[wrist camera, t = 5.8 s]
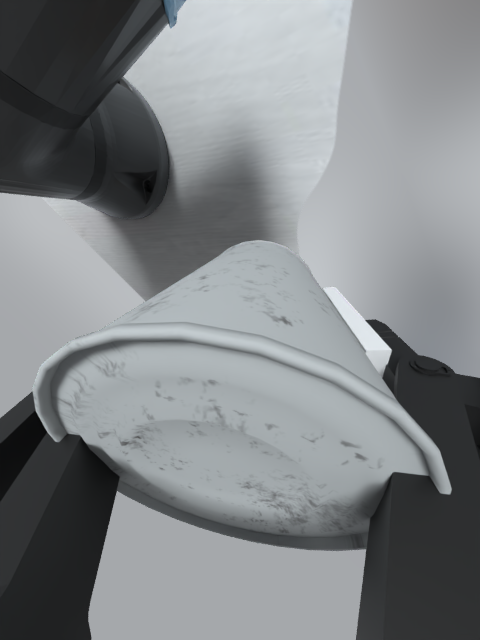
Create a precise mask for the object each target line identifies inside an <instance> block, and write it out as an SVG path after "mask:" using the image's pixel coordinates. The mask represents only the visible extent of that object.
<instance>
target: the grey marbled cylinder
mask: <svg viewBox="0 0 480 640" xmlns="http://www.w3.org/2000/svg"><path fill="white" fill-rule="evenodd" d="M32 391H33V397H34V403H35V409H36V412H37V414H38V416H39V418H40V420H41V422H42V423H43V425H44V427H45V429H46V431H47V432H48V434H49V435H50V436H51V437H52V438H53V439H54V441H55V442H60V441H61V440H62V439H63V438H64V437H65V436H66V435H67V434H75V435H80V436H81V437H82V438H83V440H84V441H85V443H86V444H87V446H88V447H89V448H90V450H91V451H93V452H94V453H95V454H96V455H97V456H98V457H99V458H100V459H101V460H102V461H103V462H104V463H105V464H106V465H107V466H108V467H109V468H110V469H111V470H112V471H113V472H115V473H116V474H117V475H119V476H120V479H119V483H118V487H117V491H118V492H120V493H122V494H123V495H125V496H127V497H129V498H131V499H133V500H135V501H137V502H139V503H141V504H143V505H145V506H147V507H149V508H151V509H154V510H156V511H158V512H161V513H163V514H165V515H168V516H170V517H172V518H175V519H177V520H180V521H183V522H186V523H188V524H191V525H194V526H197V527H199V528H203V529H206V530H209V531H213V532H216V533H220V534H223V535H227V536H230V537H235V538H239V539H243V540H247V541H251V542H256V543H262V544H268V545H273V546H279V547H287V548H297V549H306V550H326V551H343V550H360V549H367V541H368V532H369V524H370V518H371V517H372V516H373V515H374V513H375V511H376V509H377V507H378V505H379V503H380V501H381V499H382V497H383V495H384V493H385V490H386V488H387V485H388V483H389V480H390V478H391V475H392V473H393V472H401V473H409V474H418V475H426V476H430V478H431V479H432V481H433V483H434V484H435V486H436V487H437V489H438V491H439V492H440V493H442V494H450V493H451V490H452V489H451V485H450V482H449V478H448V475H447V472H446V469H445V466H444V463H443V460H442V456H441V453H440V450H439V449H438V447H437V446H436V445H435V443H434V442H433V440H432V439H431V438H430V437H429V436H428V435H427V434H426V433H425V431H424V430H423V429H422V428H421V427H420V426H419V425H418V424H417V423H416V421H415V420H414V419H413V418H412V417H411V416H410V415H409V414H408V413H407V412H406V410H405V409H404V408H403V407H402V406H401V405H400V404H399V402H398V401H397V400H396V398H395V397H394V395H393V394H392V392H391V391H390V389H389V388H388V386H387V385H386V383H385V382H384V380H383V379H382V377H381V376H380V374H379V373H378V371H377V370H376V368H375V367H374V366H373V364H372V363H371V361H370V360H369V358H368V357H367V355H366V354H365V352H364V351H363V349H362V348H361V346H360V345H359V343H358V342H357V340H356V339H355V337H354V336H353V334H352V333H351V332H350V330H349V329H348V327H347V326H346V324H345V323H344V321H343V320H342V318H341V317H340V315H339V314H338V312H337V311H336V309H335V308H334V306H333V305H332V303H331V302H330V300H329V299H328V298H327V296H326V295H325V293H324V292H323V290H322V289H321V287H320V286H319V284H318V283H317V281H316V280H315V278H314V277H313V275H312V274H311V271H310V269H309V267H308V266H307V264H306V263H305V262H304V261H303V260H302V259H301V257H300V256H299V255H298V254H296V253H295V252H293V251H292V250H290V249H289V248H288V247H286V246H283V245H280V244H278V243H275V242H271V241H262V240H255V241H247V242H242V243H240V244H237V245H235V246H232V247H230V248H229V249H227V250H226V251H224V252H223V253H222V254H220V255H219V256H218V257H216V258H215V259H213V260H212V261H210V262H208V263H207V264H205V265H204V266H202V267H200V268H199V269H197V270H195V271H194V272H192V273H191V274H189V275H187V276H186V277H184V278H183V279H181V280H179V281H178V282H176V283H175V284H173V285H171V286H170V287H168V288H167V289H165V290H163V291H162V292H160V293H159V294H157V295H155V296H154V297H152V298H151V299H149V300H147V301H146V302H144V303H143V304H141V305H139V306H138V307H136V308H134V309H133V310H131V311H130V312H128V313H126V314H125V315H123V316H122V317H120V318H118V319H117V320H115V321H114V322H112V323H111V324H109V325H107V326H106V327H104V328H102V329H101V330H99V331H97V332H93V333H90V334H87V335H83V336H80V337H77V338H75V339H73V340H72V341H70V342H68V343H67V344H66V345H64V346H63V347H62V348H61V349H60V350H58V351H57V352H56V353H55V354H53V355H52V356H51V357H50V358H48V359H47V360H46V361H45V362H44V363H43V364H42V365H41V366H40V369H39V371H38V374H37V377H36V380H35V383H34V385H33V388H32Z"/></svg>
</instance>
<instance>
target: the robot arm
mask: <svg viewBox="0 0 480 640" xmlns="http://www.w3.org/2000/svg"><path fill="white" fill-rule="evenodd" d="M185 1H186V0H0V193H9V194H20V195H29V196H39V197H49V198H60V199H70V200H76V201H79V202H81V203H83V204H85V205H87V206H90V207H92V208H94V209H96V210H98V211H101V212H103V213H105V214H107V215H110V216H113V217H117V218H125V219H137V218H142V217H145V216H147V215H149V214H151V213H152V212H153V211H154V210H155V209H156V208H157V207H158V206H159V204H160V203H161V201H162V199H163V197H164V195H165V192H166V188H167V184H168V176H169V161H168V152H167V147H166V143H165V139H164V135H163V132H162V130H161V127H160V125H159V122H158V120H157V118H156V116H155V114H154V112H153V110H152V109H151V107H150V106H149V104H148V103H147V101H146V100H145V99H144V97H143V96H142V95H141V94H140V93H139V91H138V90H137V89H136V88H135V87H134V86H132V85H131V84H130V83H129V82H128V81H127V80H126V79H125V78H124V77H123V76H124V75H125V74H126V72H127V71H128V70H129V69H130V68H131V66H132V65H133V64H134V63H135V62H136V61H137V59H138V58H139V57H140V56H141V55H142V54H143V52H144V51H145V50H146V49H147V48H148V46H149V45H150V44H151V43H152V42H153V41H154V39H155V38H156V37H157V36H158V35H159V34H160V32H161V31H162V30H163V29H164V28H165V26H166V25H167V24H168V23H169V26H170V29H171V28H172V27H173V26H174V25H175V24H176V21H177V12H178V11H179V9H180V8H181V7H182V5H183V4H184V2H185ZM322 290H323V292H324V293H325V295H326V296H327V298H328V299H329V300H330V302H331V303H332V305H333V306H334V308H335V309H336V311H337V312H338V314H339V315H340V317H341V318H342V320H343V321H344V323H345V324H346V326H347V327H348V329H349V330H350V332H351V333H352V334H353V336H354V337H355V339H356V340H357V342H358V343H359V345H360V346H361V348H362V349H363V351H364V352H365V354H366V355H367V357H368V358H369V360H370V361H371V363H372V364H373V366H374V367H375V368H376V370H377V371H378V373H379V374H380V376H381V377H382V379H383V380H384V382H385V383H386V385H387V386H388V388H389V389H390V391H391V392H392V394H393V395H394V397H395V398H396V400H397V401H398V402H399V404H400V405H401V406H402V407H403V408H404V409H405V410H406V412H407V413H408V414H409V415H410V416H411V417H412V418H413V419H414V420H415V421H416V423H417V424H418V425H419V426H420V427H421V428H422V429H423V430H424V431H425V433H426V434H427V435H428V436H429V437H430V438H431V439H432V440H433V442H434V443H435V445H436V446H437V447H438V449H439V450H440V453H441V456H442V460H443V463H444V466H445V469H446V472H447V475H448V478H449V482H450V485H451V489H452V490H451V493H450V494H442V493H440V492H439V491H438V489H437V487H436V486H435V484H434V483H433V481H432V479H431V478H430V476H426V475H418V474H409V473H401V472H393V473H392V475H391V478H390V480H389V483H388V485H387V488H386V490H385V493H384V495H383V497H382V499H381V501H380V503H379V505H378V507H377V509H376V511H375V513H374V515H373V516H372V517H371V518H370V524H369V532H368V541H367V549H366V558H365V567H364V575H363V584H362V592H361V602H360V609H359V618H358V627H357V635H356V640H480V378H476V377H471V376H465V375H460V374H455V372H454V371H453V370H452V369H451V368H450V367H448V366H447V365H446V364H444V363H442V362H440V361H438V360H436V359H433V358H429V357H426V356H420V355H417V354H416V353H415V352H414V351H413V350H412V349H411V348H410V347H409V346H408V345H407V344H406V343H405V342H404V341H403V340H402V339H401V338H400V337H398V336H397V335H396V334H395V333H394V332H392V330H391V329H390V328H389V327H388V326H387V325H386V324H384V323H382V322H379V321H377V320H364V319H363V317H362V316H361V315H360V314H359V313H358V312H357V311H356V310H355V309H354V307H353V306H352V305H351V304H350V303H349V302H348V301H347V300H346V299H345V297H344V296H343V295H342V294H341V293H340V292H339V291H338V290H337V289H336V287H329V288H322ZM119 479H120V476H119V475H117V474H116V473H115V472H113V471H112V470H111V469H110V468H109V467H108V466H107V465H106V464H105V463H104V462H103V461H102V460H101V459H100V458H99V457H98V456H97V455H96V454H95V453H94V452H93V451H91V450H90V448H89V447H88V446H87V444H86V443H85V441H84V440H83V438H82V437H81V436H80V435H75V434H67V435H66V436H65V437H64V438H63V439H62V440H61V441H60V442H55V441H54V439H53V438H52V437H51V436H50V435H49V434H48V432H47V431H46V429H45V427H44V425H43V423H42V422H41V420H40V418H39V416H38V414H37V412H36V409H35V403H34V397H33V391H32V392H31V393H30V394H29V395H28V396H26V397H25V398H24V399H23V400H22V401H20V402H19V403H18V404H17V405H16V406H15V407H13V408H12V409H11V410H10V411H8V412H7V413H6V414H5V415H4V416H3V417H1V418H0V640H91V633H90V628H89V622H88V611H89V606H90V600H91V596H92V591H93V588H94V584H95V579H96V575H97V571H98V567H99V563H100V559H101V554H102V550H103V546H104V542H105V537H106V533H107V529H108V525H109V521H110V516H111V513H112V508H113V504H114V500H115V496H116V492H117V487H118V483H119Z"/></svg>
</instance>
